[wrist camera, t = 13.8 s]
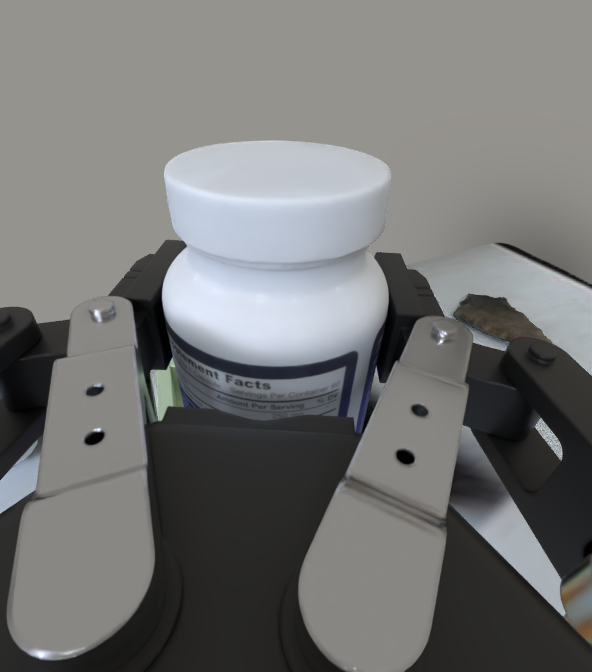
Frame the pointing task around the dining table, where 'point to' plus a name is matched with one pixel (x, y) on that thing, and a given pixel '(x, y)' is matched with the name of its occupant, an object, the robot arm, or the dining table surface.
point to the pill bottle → (276, 278)
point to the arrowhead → (497, 318)
